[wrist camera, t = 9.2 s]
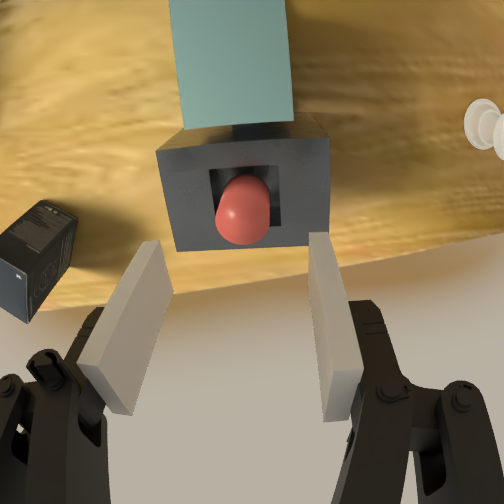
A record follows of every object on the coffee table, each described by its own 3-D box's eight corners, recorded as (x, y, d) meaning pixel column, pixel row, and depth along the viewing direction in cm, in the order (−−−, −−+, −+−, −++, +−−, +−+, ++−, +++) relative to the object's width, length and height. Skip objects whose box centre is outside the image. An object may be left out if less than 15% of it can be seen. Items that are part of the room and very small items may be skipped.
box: (41, 198, 31) (-16, 247, 22) (79, 218, 32) (27, 275, 23) (35, 249, 35) (-11, 301, 26) (69, 268, 36) (28, 326, 27)
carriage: (212, 107, 25) (184, 130, 17) (202, 17, 21) (168, -4, 13) (285, 102, 24) (293, 120, 16) (277, 10, 20) (282, -18, 12)
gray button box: (203, 193, 30) (176, 251, 22) (192, 121, 26) (155, 151, 18) (311, 187, 29) (328, 244, 21) (309, 112, 25) (330, 137, 17)
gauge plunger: (226, 216, 21) (219, 246, 18) (221, 175, 19) (211, 198, 16) (270, 214, 20) (271, 243, 17) (268, 172, 19) (267, 194, 16)
